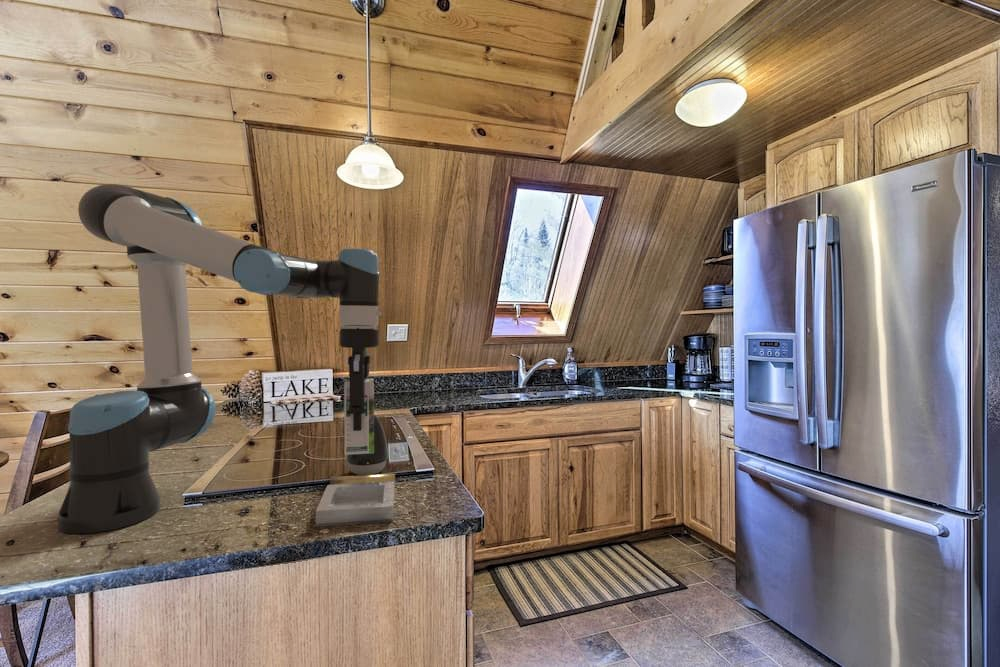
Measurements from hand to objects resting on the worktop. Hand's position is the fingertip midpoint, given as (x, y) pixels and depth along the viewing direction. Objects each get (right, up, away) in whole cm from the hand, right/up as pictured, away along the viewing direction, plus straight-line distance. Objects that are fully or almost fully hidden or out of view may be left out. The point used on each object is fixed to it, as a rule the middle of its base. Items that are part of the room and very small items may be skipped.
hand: (359, 441), depth 96 cm
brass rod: (-3, -13, +12) cm, 18 cm away
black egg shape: (-5, -13, +23) cm, 27 cm away
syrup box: (0, -2, 0) cm, 2 cm away
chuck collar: (0, -14, 0) cm, 14 cm away
